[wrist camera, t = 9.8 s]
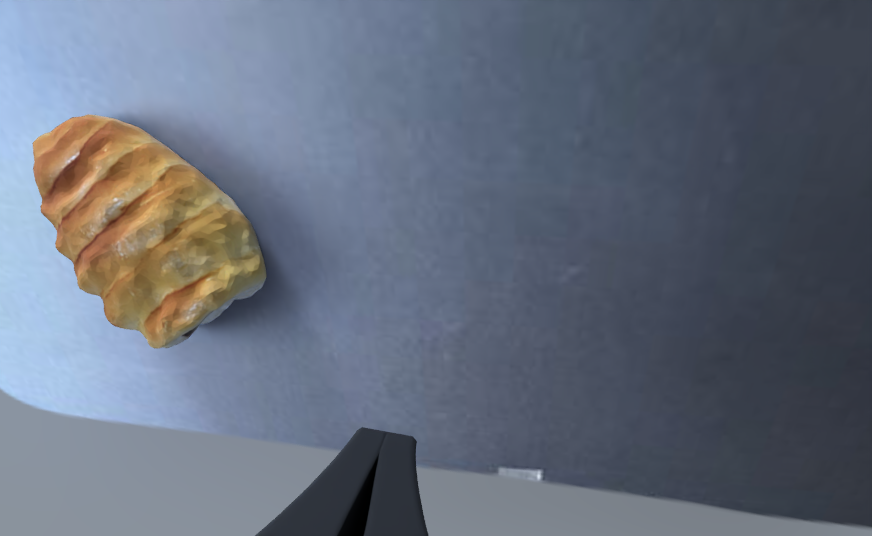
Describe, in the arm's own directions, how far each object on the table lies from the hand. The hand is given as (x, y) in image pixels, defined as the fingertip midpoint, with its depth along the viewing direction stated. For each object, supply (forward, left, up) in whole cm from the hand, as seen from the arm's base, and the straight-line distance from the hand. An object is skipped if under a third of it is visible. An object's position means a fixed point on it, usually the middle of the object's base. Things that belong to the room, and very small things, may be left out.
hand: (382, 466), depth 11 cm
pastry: (+2, +11, -10) cm, 15 cm away
